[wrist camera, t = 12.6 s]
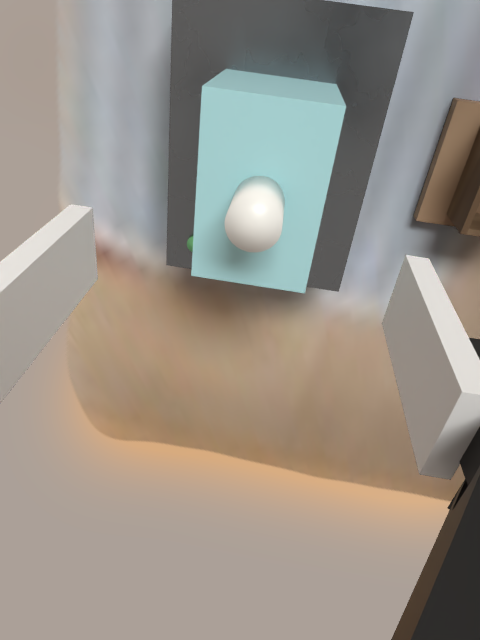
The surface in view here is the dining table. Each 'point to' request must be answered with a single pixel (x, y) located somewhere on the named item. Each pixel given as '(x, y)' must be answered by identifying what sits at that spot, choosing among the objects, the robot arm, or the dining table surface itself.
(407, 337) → the robot arm
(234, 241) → the teal and white block
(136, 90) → the dining table surface
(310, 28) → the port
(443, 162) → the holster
